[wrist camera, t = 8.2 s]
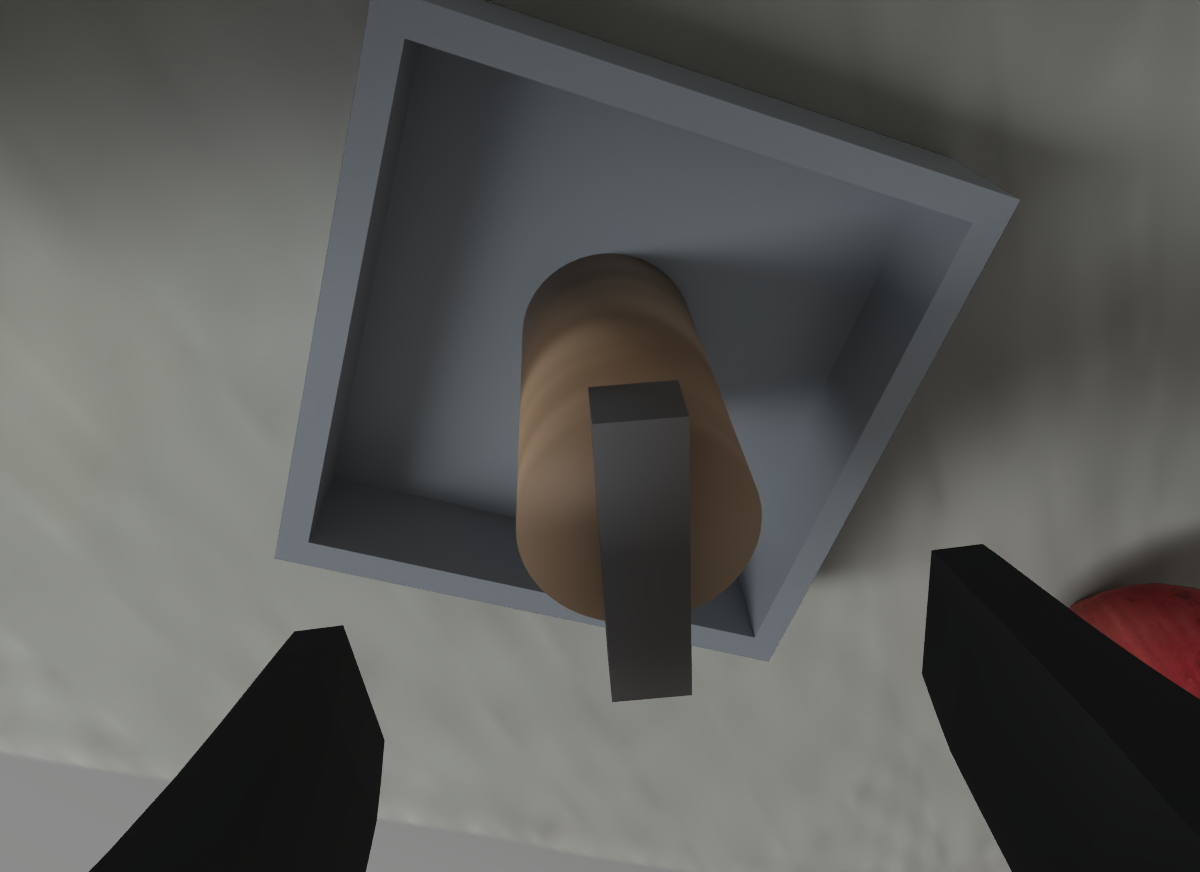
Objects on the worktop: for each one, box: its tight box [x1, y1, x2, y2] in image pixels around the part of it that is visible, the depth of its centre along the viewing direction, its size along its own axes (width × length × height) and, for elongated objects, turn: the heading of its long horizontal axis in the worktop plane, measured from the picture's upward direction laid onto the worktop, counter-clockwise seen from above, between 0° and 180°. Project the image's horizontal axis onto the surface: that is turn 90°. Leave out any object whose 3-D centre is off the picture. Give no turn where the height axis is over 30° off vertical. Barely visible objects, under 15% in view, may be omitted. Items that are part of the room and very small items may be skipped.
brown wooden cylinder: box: [516, 254, 762, 702], centre depth 16 cm, size 4×5×8 cm
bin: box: [275, 0, 1020, 662], centre depth 18 cm, size 11×11×3 cm
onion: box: [1069, 583, 1200, 699], centre depth 21 cm, size 6×6×8 cm
